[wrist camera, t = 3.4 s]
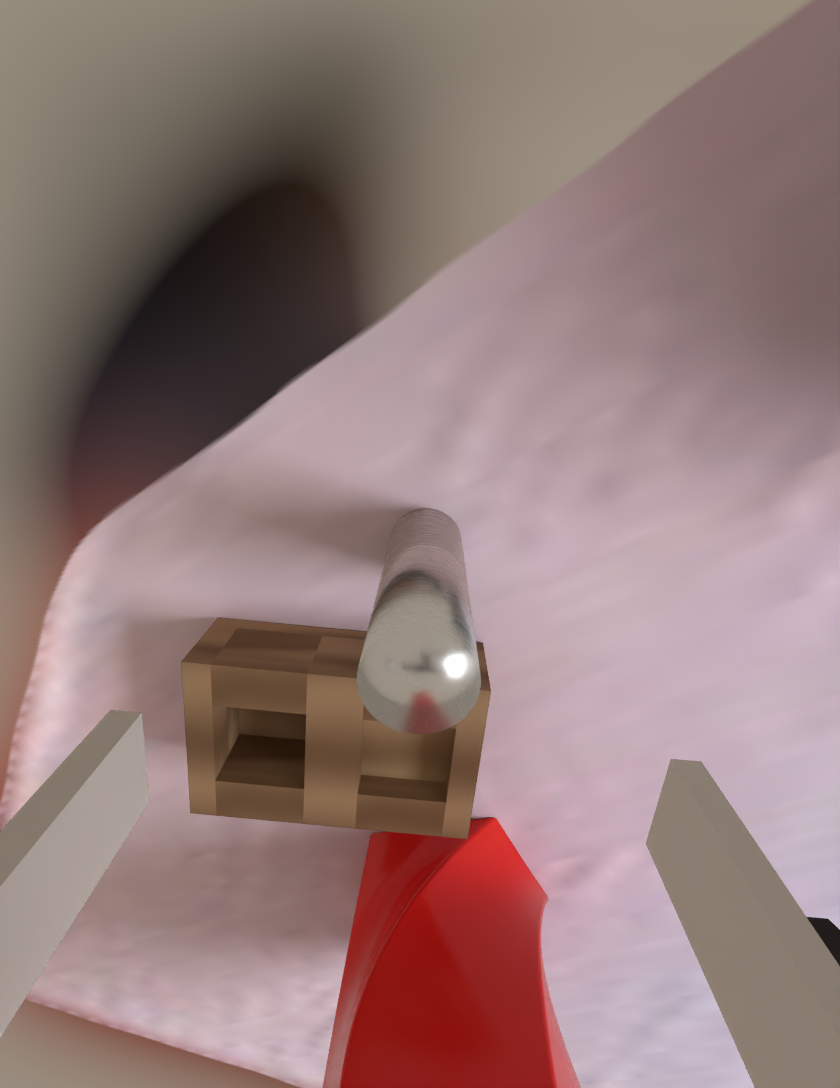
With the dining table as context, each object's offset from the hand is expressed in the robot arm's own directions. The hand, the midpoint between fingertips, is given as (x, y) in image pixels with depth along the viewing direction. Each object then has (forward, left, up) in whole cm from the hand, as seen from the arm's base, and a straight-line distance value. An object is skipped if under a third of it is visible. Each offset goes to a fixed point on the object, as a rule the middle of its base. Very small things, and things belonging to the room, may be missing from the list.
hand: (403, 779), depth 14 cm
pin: (0, 0, -18) cm, 18 cm away
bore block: (+11, -4, -18) cm, 21 cm away
